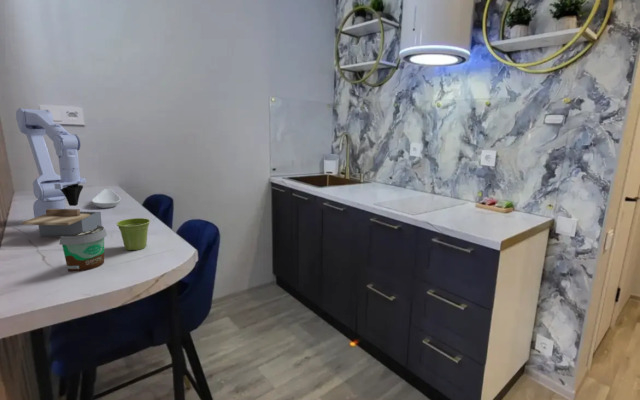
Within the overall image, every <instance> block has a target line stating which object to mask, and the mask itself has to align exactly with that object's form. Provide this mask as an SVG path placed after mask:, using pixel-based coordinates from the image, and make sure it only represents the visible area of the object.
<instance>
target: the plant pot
mask: <svg viewBox="0 0 640 400" xmlns="http://www.w3.org/2000/svg"><path fill="white" fill-rule="evenodd" d="M150 222H151V219H149V218H146V217H145V218H144V217H135V218H134V217H133V218H127V219H126V218H125V219H122V220H119V221H117V223H116V226H117V227H118V229H119V232H120V234H121V237H122V238H121V239H122V241H123V242H122V243H123V246H124V249H125V250H126V251H139V250H142V249H145V248H146V247H147V243H148V242H147V241H148V231H149V225H150Z"/></svg>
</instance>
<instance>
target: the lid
mask: <svg viewBox="0 0 640 400" xmlns="http://www.w3.org/2000/svg"><path fill="white" fill-rule="evenodd" d="M80 211H81V210H80V208H65V209H47V210H46V214H44V215H41V216H38V217H36V218H34V217H33V218H30V219H28V220H24V221H21V225H23V226H25V225H27V226H28V225H29V226H30V225H31V226H33V225H34V226H35V225H36V226H37V225H38V226H39V225H70V224H73V223H75V222H77V221H80V220H82V219H84V218H87V217H89V216H90V214H80Z"/></svg>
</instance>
